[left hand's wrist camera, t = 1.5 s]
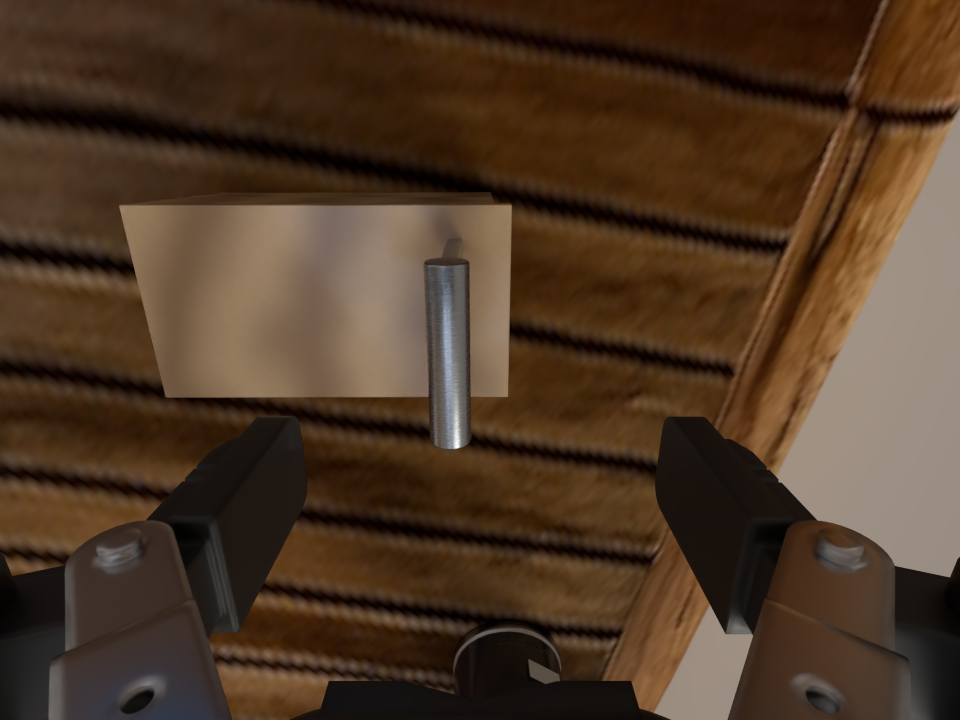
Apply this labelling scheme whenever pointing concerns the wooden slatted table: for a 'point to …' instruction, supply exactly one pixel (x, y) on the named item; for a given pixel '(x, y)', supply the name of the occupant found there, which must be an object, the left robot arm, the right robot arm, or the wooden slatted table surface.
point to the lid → (329, 301)
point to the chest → (331, 198)
